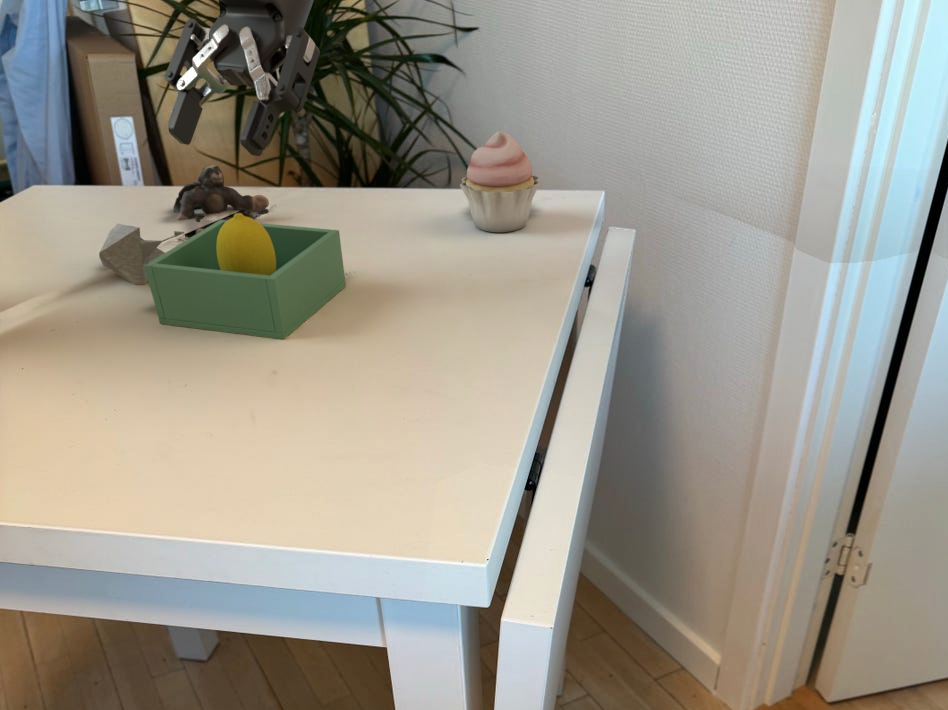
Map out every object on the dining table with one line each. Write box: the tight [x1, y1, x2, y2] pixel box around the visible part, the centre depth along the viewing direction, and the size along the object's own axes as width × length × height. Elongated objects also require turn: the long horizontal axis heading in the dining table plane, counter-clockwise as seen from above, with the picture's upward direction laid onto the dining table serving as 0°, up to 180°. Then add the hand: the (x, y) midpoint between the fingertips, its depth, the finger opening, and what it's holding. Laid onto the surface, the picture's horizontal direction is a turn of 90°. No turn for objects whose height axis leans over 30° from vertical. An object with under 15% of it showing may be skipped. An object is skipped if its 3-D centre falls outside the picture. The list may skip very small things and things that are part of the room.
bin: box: [145, 219, 347, 340], centre depth 89 cm, size 14×14×6 cm
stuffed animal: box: [173, 164, 270, 239], centre depth 110 cm, size 12×10×12 cm
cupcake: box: [459, 130, 541, 233], centre depth 104 cm, size 9×9×10 cm
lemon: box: [216, 212, 276, 276], centre depth 88 cm, size 6×6×8 cm
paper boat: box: [98, 223, 185, 286], centre depth 95 cm, size 12×6×9 cm
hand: (213, 144), depth 80 cm, fingers open, 8 cm apart
